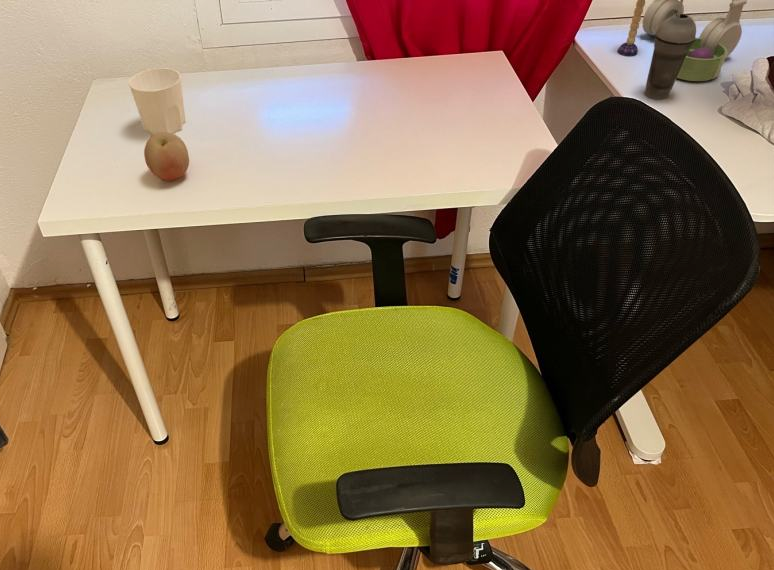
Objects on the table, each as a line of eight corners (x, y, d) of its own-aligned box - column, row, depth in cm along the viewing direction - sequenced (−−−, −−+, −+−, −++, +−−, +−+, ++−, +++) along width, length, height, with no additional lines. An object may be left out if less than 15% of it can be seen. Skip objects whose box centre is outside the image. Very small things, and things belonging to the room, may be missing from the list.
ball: (705, 75, 146) (723, 61, 141) (686, 80, 145) (703, 66, 140) (696, 55, 146) (713, 40, 142) (677, 59, 145) (693, 45, 141)
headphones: (734, 58, 149) (772, -39, 135) (706, 67, 147) (743, -30, 133) (662, 28, 162) (691, -64, 148) (636, 36, 159) (662, -56, 145)
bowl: (729, 76, 144) (739, 53, 140) (687, 87, 141) (696, 63, 138) (692, 56, 151) (700, 33, 147) (651, 66, 149) (658, 43, 145)
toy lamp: (612, 49, 156) (633, -31, 144) (630, 45, 156) (653, -34, 144) (624, 57, 152) (647, -24, 140) (642, 54, 153) (667, -27, 141)
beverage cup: (662, 106, 137) (698, 0, 122) (630, 94, 141) (661, -10, 126) (682, 94, 140) (719, -11, 125) (650, 82, 144) (682, -20, 129)
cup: (131, 126, 141) (119, 79, 134) (173, 109, 145) (163, 63, 138) (156, 144, 135) (145, 96, 128) (198, 126, 139) (190, 79, 132)
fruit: (148, 189, 124) (137, 150, 118) (151, 166, 130) (142, 127, 124) (191, 185, 124) (183, 146, 119) (193, 162, 130) (185, 123, 124)
